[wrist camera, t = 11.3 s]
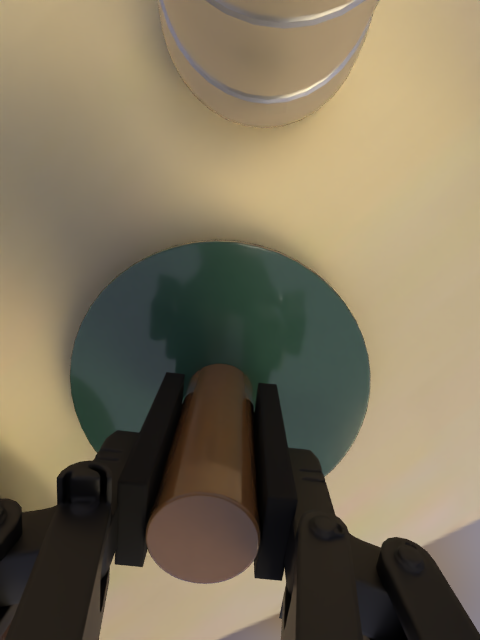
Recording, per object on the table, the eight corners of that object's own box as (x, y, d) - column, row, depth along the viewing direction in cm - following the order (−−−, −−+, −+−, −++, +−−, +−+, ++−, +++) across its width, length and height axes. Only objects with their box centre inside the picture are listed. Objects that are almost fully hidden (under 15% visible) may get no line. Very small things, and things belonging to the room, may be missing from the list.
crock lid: (79, 220, 17) (-105, 243, 8) (392, 258, 17) (552, 321, 8) (80, 483, 21) (-41, 693, 12) (333, 509, 21) (399, 731, 12)
